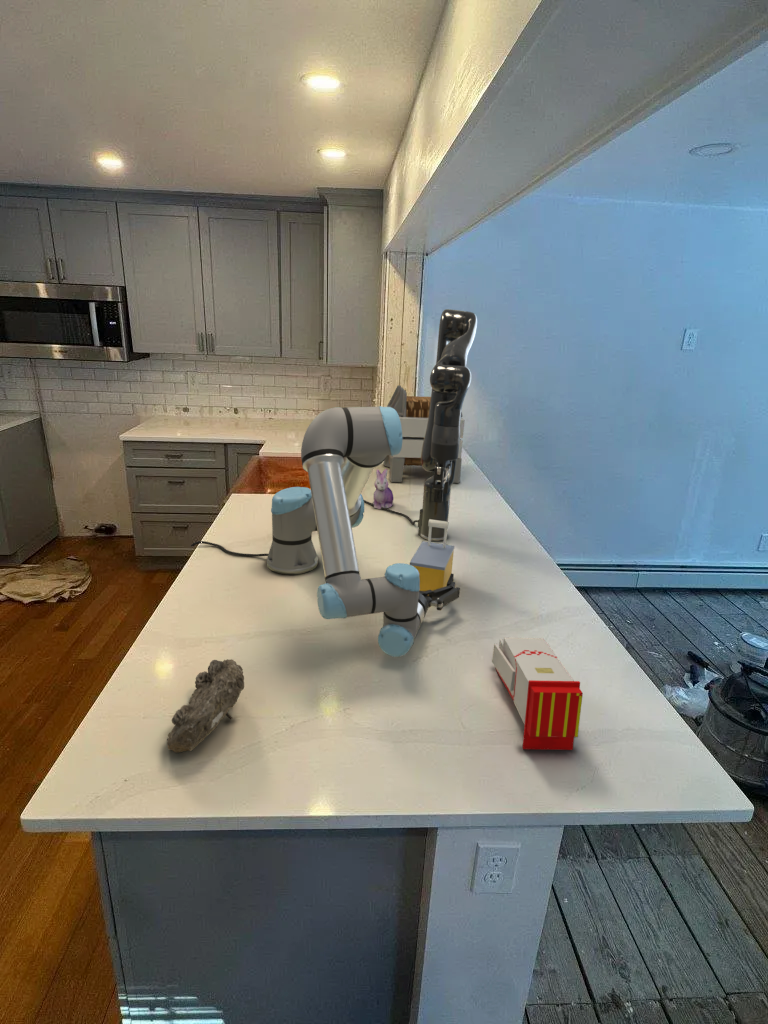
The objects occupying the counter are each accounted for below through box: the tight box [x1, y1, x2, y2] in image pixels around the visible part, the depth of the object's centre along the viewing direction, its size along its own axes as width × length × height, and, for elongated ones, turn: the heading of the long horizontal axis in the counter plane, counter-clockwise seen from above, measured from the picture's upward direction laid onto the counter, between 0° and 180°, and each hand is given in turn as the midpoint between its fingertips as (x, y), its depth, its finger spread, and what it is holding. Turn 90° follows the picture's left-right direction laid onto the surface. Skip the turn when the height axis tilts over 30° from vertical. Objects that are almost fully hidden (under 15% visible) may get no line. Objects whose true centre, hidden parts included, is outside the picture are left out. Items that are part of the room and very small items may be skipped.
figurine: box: [372, 468, 394, 510], centre depth 225 cm, size 9×10×15 cm
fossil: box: [166, 658, 245, 754], centre depth 106 cm, size 22×10×15 cm
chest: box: [412, 549, 455, 591], centre depth 161 cm, size 15×10×10 cm, turn 164°
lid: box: [409, 519, 455, 570], centre depth 158 cm, size 16×10×9 cm, turn 164°
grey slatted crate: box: [382, 384, 465, 484], centre depth 268 cm, size 34×33×41 cm
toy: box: [491, 637, 584, 751], centre depth 115 cm, size 12×13×30 cm
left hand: (428, 574), depth 156 cm, fingers open, 12 cm apart
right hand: (440, 497), depth 159 cm, fingers open, 8 cm apart
